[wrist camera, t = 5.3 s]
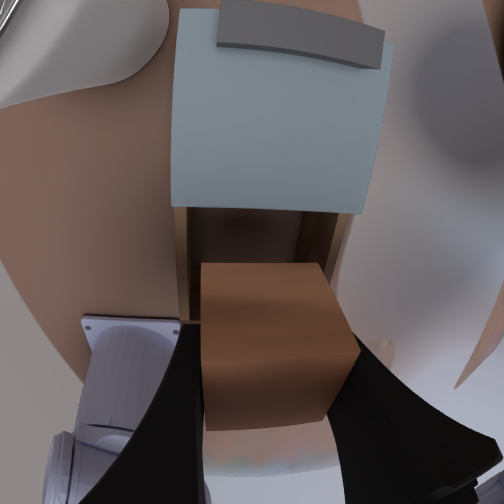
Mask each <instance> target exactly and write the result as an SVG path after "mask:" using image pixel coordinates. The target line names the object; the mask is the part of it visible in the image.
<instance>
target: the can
mask: <svg viewBox="0 0 504 504" xmlns="http://www.w3.org/2000/svg"><path fill="white" fill-rule="evenodd" d="M168 25H169V8H168V3H167V0H0V109H1V108H5V107H8V106H11V105H15V104H19V103H22V102H26V101H30V100H34V99H38V98H42V97H46V96H50V95H55V94H60V93H64V92H69V91H74V90H80V89H85V88H91V87H96V86H102V85H107V84H112V83H115V82H118V81H121V80H124V79H126V78H128V77H130V76H132V75H134V74H135V73H137V72H138V71H139V70H140V69H142V68H143V67H144V66H145V65H146V64H147V63H148V62H149V61H150V60H151V58H152V57H153V56H154V55H155V54H156V52H157V51H158V49H159V48H160V46H161V45H162V43H163V41H164V39H165V36H166V33H167V30H168Z"/></svg>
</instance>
